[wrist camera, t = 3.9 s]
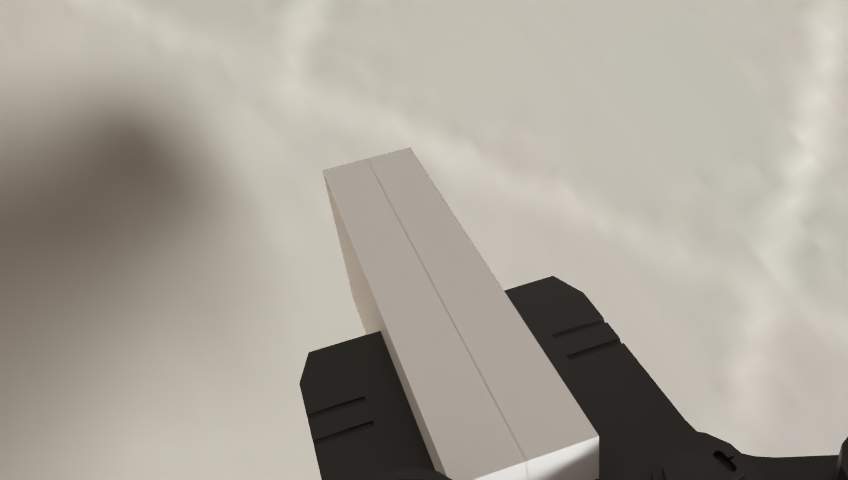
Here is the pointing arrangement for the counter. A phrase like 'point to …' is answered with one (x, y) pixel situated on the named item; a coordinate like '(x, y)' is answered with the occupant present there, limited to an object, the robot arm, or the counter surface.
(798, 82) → the counter surface
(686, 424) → the robot arm
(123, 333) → the counter surface
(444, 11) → the counter surface
